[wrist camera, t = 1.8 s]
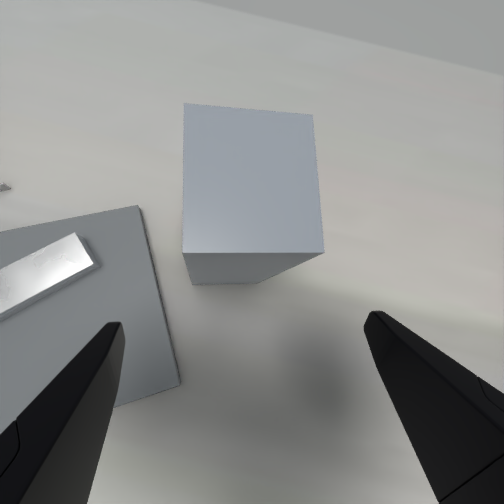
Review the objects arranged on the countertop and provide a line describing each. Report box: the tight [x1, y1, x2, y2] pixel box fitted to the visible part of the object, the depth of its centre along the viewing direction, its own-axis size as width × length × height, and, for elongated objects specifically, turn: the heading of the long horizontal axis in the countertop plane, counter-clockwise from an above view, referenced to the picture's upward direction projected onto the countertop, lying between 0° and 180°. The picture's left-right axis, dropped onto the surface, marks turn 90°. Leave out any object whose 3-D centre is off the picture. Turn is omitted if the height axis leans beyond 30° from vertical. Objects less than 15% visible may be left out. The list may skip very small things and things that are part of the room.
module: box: [182, 103, 325, 285], centre depth 16 cm, size 6×5×12 cm
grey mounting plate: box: [0, 205, 181, 434], centre depth 18 cm, size 13×18×2 cm
